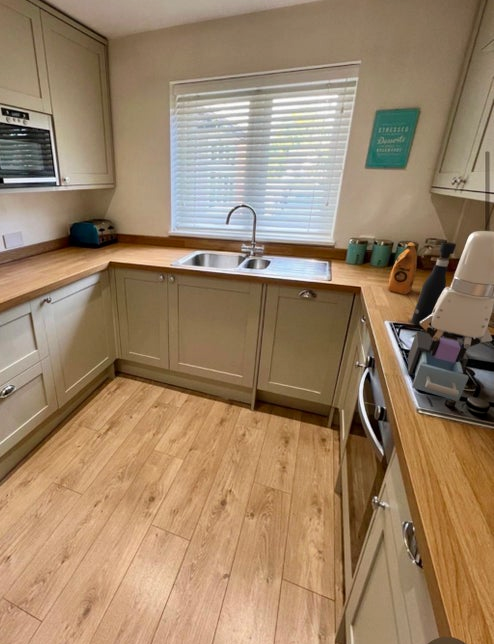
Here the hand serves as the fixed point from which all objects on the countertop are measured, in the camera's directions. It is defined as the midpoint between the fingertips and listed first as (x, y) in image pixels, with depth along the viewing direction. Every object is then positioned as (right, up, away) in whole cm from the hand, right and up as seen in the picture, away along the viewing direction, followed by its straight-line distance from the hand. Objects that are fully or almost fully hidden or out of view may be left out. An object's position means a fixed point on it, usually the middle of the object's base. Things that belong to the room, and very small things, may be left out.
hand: (444, 355), depth 82 cm
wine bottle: (+23, +5, +40) cm, 47 cm away
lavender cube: (0, 0, 0) cm, 0 cm away
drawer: (-1, -9, +2) cm, 9 cm away
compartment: (+5, -6, +11) cm, 13 cm away
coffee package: (+37, +19, +75) cm, 86 cm away
